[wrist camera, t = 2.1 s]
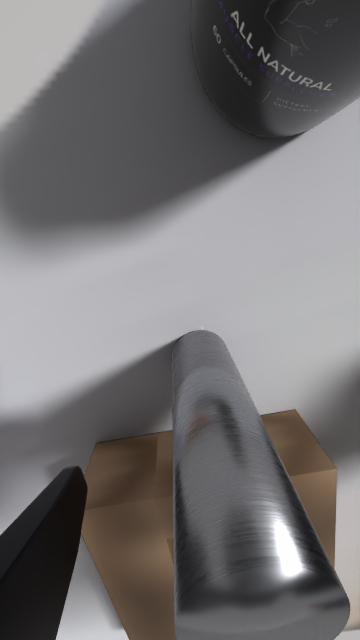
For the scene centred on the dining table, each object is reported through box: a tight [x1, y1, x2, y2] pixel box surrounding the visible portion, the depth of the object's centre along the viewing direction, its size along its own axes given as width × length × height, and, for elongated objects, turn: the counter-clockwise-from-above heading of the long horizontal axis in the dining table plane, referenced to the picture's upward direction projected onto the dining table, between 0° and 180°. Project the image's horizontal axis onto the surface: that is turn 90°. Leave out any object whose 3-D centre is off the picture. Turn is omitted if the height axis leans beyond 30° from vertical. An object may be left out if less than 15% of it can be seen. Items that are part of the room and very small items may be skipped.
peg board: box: [81, 410, 337, 640], centre depth 16 cm, size 12×18×4 cm, turn 10°
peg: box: [172, 330, 350, 640], centre depth 9 cm, size 3×3×10 cm
